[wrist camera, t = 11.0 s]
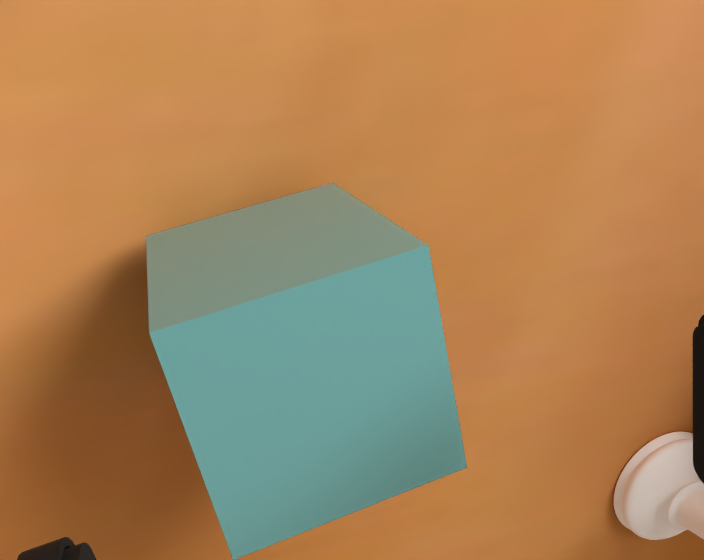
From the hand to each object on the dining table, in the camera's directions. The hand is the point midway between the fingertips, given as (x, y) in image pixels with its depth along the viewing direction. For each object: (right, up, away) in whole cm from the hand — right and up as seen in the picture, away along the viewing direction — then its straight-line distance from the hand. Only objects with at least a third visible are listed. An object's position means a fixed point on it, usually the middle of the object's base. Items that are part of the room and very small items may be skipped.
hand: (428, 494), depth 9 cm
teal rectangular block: (-4, +3, +9) cm, 10 cm away
